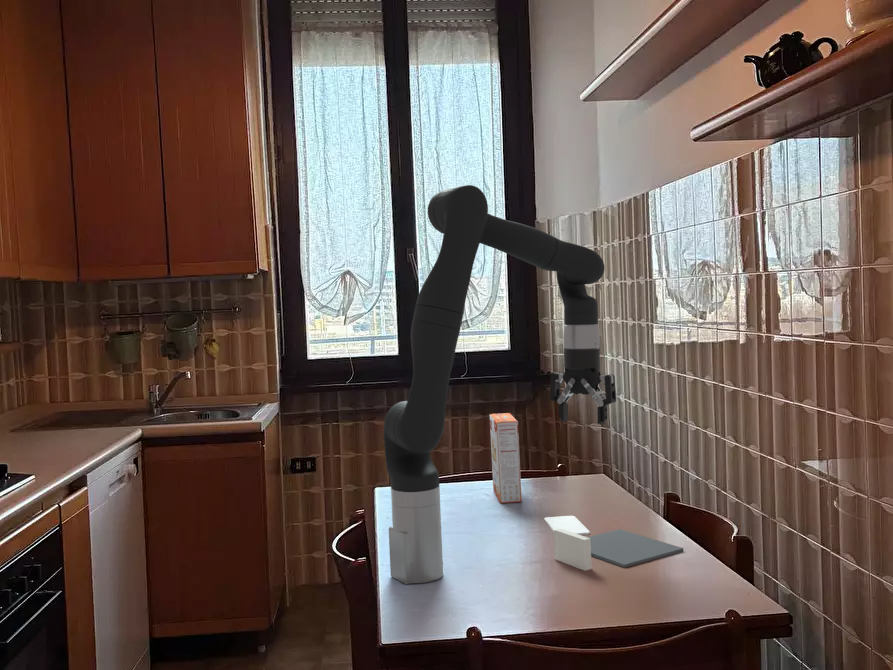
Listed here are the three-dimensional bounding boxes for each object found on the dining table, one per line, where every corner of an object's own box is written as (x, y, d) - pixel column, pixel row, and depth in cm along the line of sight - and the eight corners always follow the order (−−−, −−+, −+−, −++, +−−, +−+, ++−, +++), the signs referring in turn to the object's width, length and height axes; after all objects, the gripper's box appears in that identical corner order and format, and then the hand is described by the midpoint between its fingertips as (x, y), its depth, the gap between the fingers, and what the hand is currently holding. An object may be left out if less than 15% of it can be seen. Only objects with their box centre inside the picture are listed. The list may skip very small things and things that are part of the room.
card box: (585, 571, 163) (584, 539, 162) (554, 559, 170) (553, 529, 170) (591, 569, 164) (590, 538, 163) (561, 557, 171) (560, 528, 171)
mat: (624, 567, 163) (624, 564, 163) (563, 545, 179) (563, 543, 179) (683, 551, 172) (683, 548, 172) (620, 531, 187) (620, 528, 187)
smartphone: (574, 515, 201) (590, 532, 186) (574, 518, 201) (591, 535, 186) (543, 517, 200) (557, 534, 185) (543, 520, 200) (557, 538, 185)
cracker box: (491, 491, 229) (488, 413, 228) (514, 489, 230) (511, 412, 229) (498, 504, 216) (495, 421, 214) (522, 502, 216) (519, 420, 215)
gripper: (543, 346, 182) (544, 422, 182) (605, 347, 173) (606, 427, 174) (559, 344, 188) (560, 418, 189) (620, 345, 180) (621, 422, 180)
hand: (582, 422), depth 181 cm, fingers open, 8 cm apart
